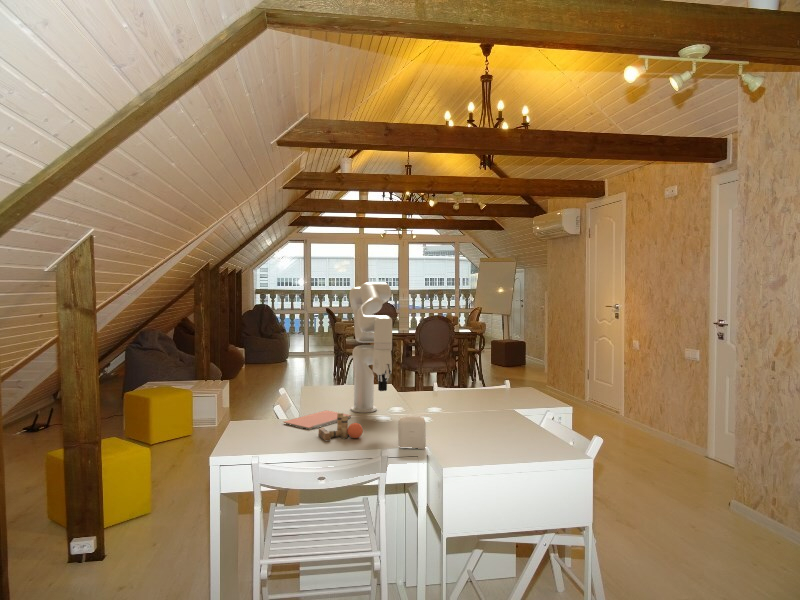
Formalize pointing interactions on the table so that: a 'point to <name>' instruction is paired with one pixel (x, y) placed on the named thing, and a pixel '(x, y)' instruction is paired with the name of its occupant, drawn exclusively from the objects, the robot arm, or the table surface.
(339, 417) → the rear pin
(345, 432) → the rear pin
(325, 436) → the block
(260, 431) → the table surface
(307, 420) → the notebook
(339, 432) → the front pin
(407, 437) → the photo printer
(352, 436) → the ball
